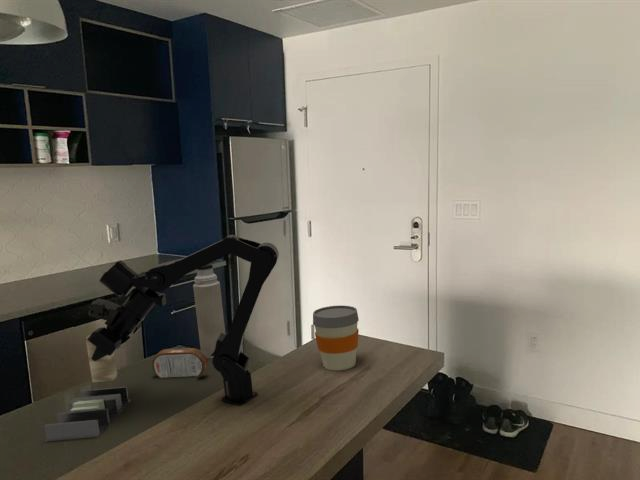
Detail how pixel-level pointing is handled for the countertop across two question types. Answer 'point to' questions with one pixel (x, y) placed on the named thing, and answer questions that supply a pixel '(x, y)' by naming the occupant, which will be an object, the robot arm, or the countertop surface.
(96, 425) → the rack
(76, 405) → the offcuts
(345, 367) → the reusable coffee cup
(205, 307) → the thermos bottle
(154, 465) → the countertop surface
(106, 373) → the light wooden block
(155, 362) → the tin
